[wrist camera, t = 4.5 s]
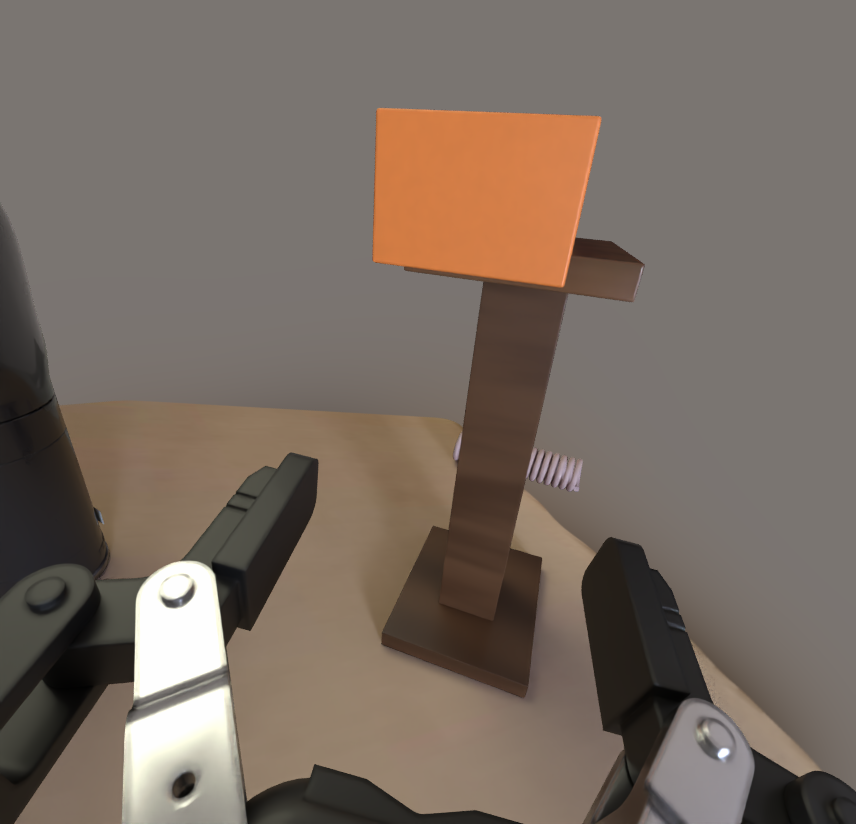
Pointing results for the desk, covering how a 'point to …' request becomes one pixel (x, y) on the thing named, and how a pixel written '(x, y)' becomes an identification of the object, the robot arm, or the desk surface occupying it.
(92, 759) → the desk surface
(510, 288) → the walnut stand
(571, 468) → the coil
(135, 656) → the robot arm
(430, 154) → the orange box
